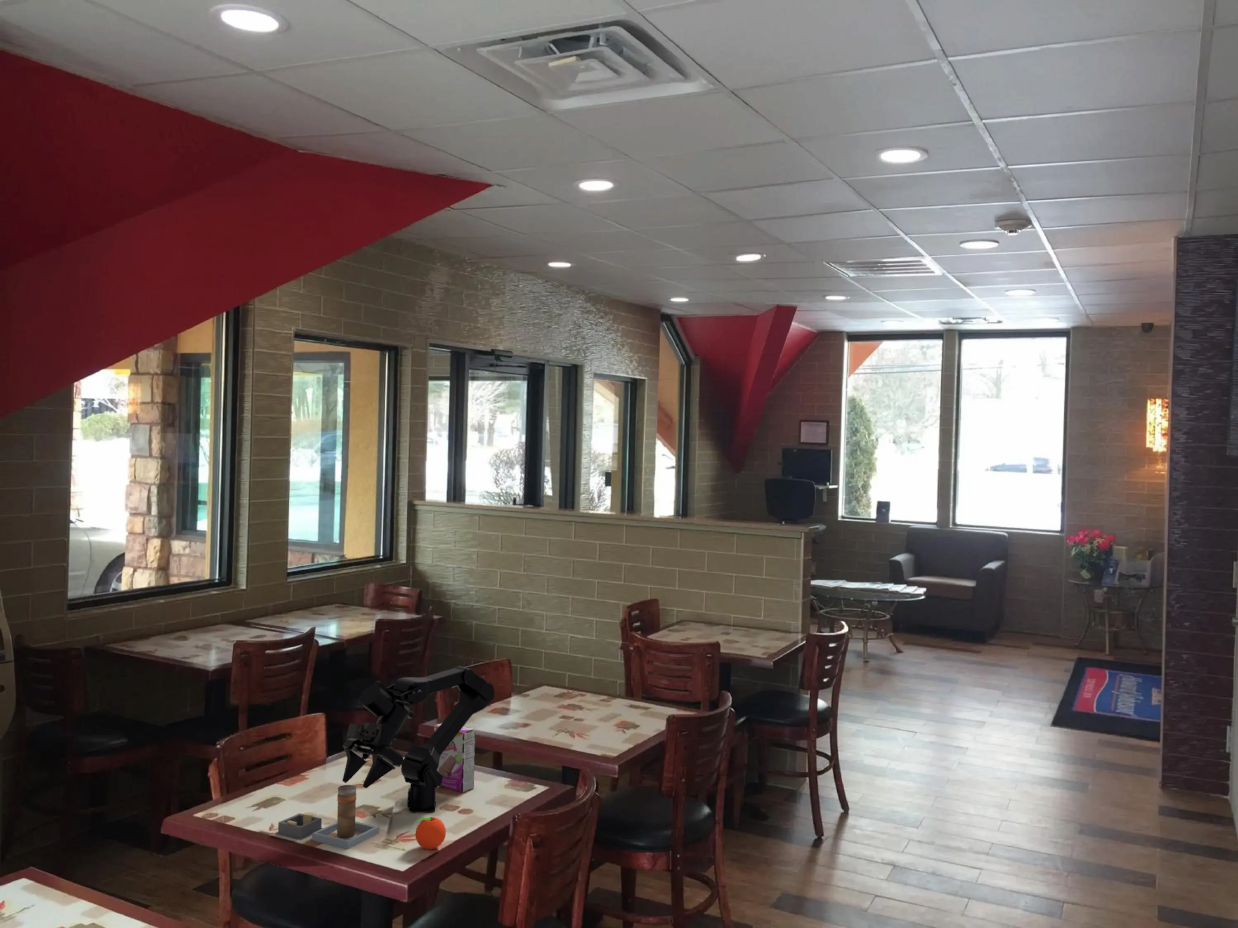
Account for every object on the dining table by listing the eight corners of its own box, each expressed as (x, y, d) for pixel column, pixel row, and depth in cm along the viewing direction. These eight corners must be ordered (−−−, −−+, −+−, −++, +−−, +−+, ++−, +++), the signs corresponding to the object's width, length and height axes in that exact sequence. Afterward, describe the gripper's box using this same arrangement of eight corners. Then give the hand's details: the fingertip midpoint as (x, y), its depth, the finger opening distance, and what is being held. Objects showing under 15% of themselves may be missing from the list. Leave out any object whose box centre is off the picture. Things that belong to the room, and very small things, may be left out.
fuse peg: (353, 834, 236) (354, 783, 236) (357, 841, 232) (358, 789, 232) (334, 837, 234) (335, 785, 234) (338, 843, 230) (339, 791, 230)
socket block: (299, 828, 241) (299, 809, 241) (324, 834, 237) (325, 815, 237) (274, 839, 234) (274, 820, 234) (300, 846, 230) (300, 826, 230)
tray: (343, 830, 240) (343, 818, 240) (378, 839, 235) (379, 826, 235) (311, 846, 230) (312, 833, 230) (348, 855, 226) (348, 841, 226)
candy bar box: (431, 785, 274) (432, 724, 274) (443, 780, 279) (445, 721, 278) (462, 793, 268) (463, 732, 268) (474, 788, 273) (476, 727, 272)
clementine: (407, 853, 228) (408, 822, 228) (413, 841, 235) (414, 811, 235) (442, 854, 228) (443, 823, 228) (447, 842, 235) (448, 812, 235)
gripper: (344, 705, 249) (309, 763, 242) (386, 712, 236) (350, 773, 229) (376, 728, 255) (343, 785, 247) (418, 735, 242) (384, 796, 234)
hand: (354, 784), depth 239 cm, fingers open, 9 cm apart
